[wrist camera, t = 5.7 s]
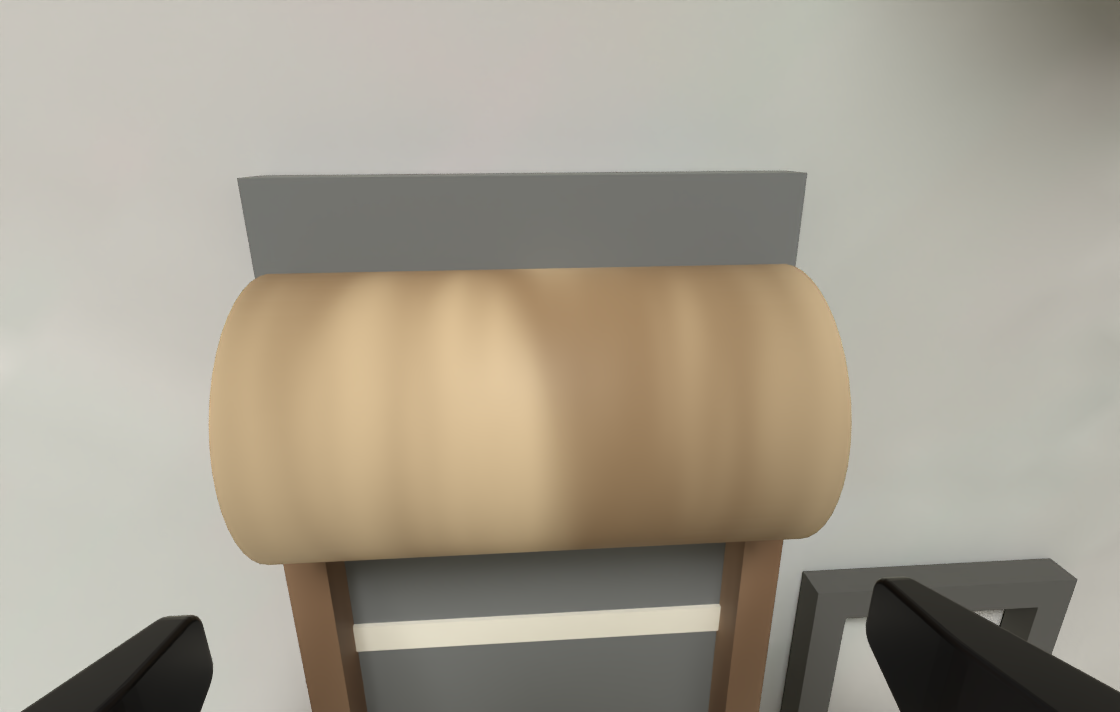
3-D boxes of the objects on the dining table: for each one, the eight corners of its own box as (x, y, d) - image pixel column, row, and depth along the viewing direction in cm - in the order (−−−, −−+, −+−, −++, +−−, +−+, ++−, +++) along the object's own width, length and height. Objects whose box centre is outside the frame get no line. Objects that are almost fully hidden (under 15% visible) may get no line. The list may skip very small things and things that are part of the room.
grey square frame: (1050, 558, 15) (1077, 579, 15) (990, 742, 18) (1011, 769, 17) (803, 571, 15) (818, 593, 14) (773, 758, 17) (785, 786, 16)
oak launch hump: (742, 244, 13) (876, 301, 8) (722, 452, 14) (823, 603, 10) (309, 251, 12) (175, 318, 7) (341, 467, 14) (248, 635, 9)
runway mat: (783, 170, 12) (809, 172, 11) (722, 702, 16) (736, 740, 15) (260, 175, 11) (234, 178, 10) (352, 727, 16) (341, 768, 15)
